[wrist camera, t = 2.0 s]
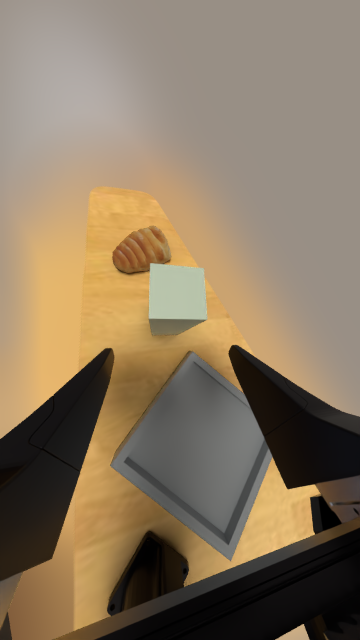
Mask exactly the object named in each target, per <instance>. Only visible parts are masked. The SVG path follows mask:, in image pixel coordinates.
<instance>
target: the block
mask: <svg viewBox="0 0 360 640" xmlns="http://www.w3.org/2000/svg"><path fill="white" fill-rule="evenodd" d="M205 320H207V307H206V293H205V278H204V268H195V267H184V266H174V265H164V264H154V263H150V292H149V322H150V327H151V332H152V335H178V334H180V333H182V332H184V331H186V330H188V329H190V328H192V327H194V326H196V325H198V324H200V323H202V322H204V321H205Z"/></svg>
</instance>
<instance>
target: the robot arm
mask: <svg viewBox="0 0 360 640" xmlns="http://www.w3.org/2000/svg"><path fill="white" fill-rule="evenodd" d="M229 357H230V360H231V363H232V366H233V369H234V372H235V374H236V377H237V379H238V381H239V383H240V385H241V388H242V390H243V392H244V394H245V397H246V399H247V401H248V403H249V405H250V408H251V410H252V412H253V414H254V417H255V419H256V421H257V423H258V425H259V428H260V430H261V432H262V434H263V436H264V439H265V441H266V443H267V446H268V448H269V450H270V452H271V454H272V457H273V459H274V461H275V463H276V466H277V468H278V470H279V472H280V475H281V477H282V479H283V481H284V483H285V485H286V487H287V489H292V488H297V487H302V486H308V485H313V484H315V485H316V487H317V489H318V490H319V492H320V493H321V494H319V495H316V496H313V497H310V501H311V511H312V521H313V530H314V533H315V535H313V536H311V537H308V538H306V539H303V540H301V541H298V542H296V543H293V544H291V545H288V546H286V547H283V548H281V549H278V550H276V551H273V552H271V553H268V554H266V555H263V556H261V557H258V558H256V559H253V560H251V561H248V562H246V563H243V564H241V565H238V566H236V567H233V568H231V569H228V570H226V571H223V572H221V573H218V574H216V575H213V576H211V577H208V578H206V579H203V580H201V581H198V582H196V583H193V584H191V585H188V586H186V587H184V584H183V583H184V581H185V579H186V577H187V575H188V572H189V567H188V562H187V560H185V559H184V558H183V557H182V556H180V555H179V554H178V553H177V552H175V551H174V550H173V549H171V548H170V547H169V546H168V545H166V544H165V543H164V542H163V541H161V540H160V539H159V538H157V537H156V536H155V535H154V534H152V533H151V532H148V533H147V534H146V535H145V537H144V538H143V540H142V542H141V544H140V546H139V547H138V549H137V551H136V553H135V554H134V556H133V558H132V560H131V561H130V563H129V565H128V567H127V568H126V570H125V572H124V574H123V575H122V577H121V579H120V581H119V582H118V584H117V586H116V588H115V590H114V591H113V593H112V595H111V597H110V599H109V603H108V608H107V611H108V614H109V615H111V617H108V618H106V619H103V620H101V621H98V622H96V623H93V624H91V625H88V626H86V627H83V628H81V629H78V630H76V631H73V632H71V633H69V634H66V635H63V636H61V637H58V638H56V639H53V640H275V639H277V638H279V637H280V636H282V635H284V634H286V633H288V632H290V631H291V630H293V629H295V628H297V627H298V626H300V625H302V624H304V626H305V629H306V631H307V634H308V637H309V639H310V640H360V417H359V416H355V415H351V414H348V413H345V412H342V411H340V410H338V409H336V408H334V407H332V406H330V405H328V404H327V403H325V402H323V401H322V400H320V399H318V398H317V397H315V396H313V395H312V394H310V393H309V392H307V391H305V390H304V389H302V388H301V387H299V386H297V385H296V384H294V383H293V382H291V381H290V380H288V379H287V378H285V377H284V376H282V375H281V374H279V373H278V372H276V371H275V370H274V369H272V368H271V367H269V366H268V365H266V364H265V363H263V362H262V361H260V360H259V359H257V358H256V357H254V356H253V355H251V354H250V353H248V352H247V351H245V350H244V349H242V348H241V347H239V346H238V345H232V346H231V348H230V350H229ZM113 363H114V353H113V349H112V348H106V349H104V350H103V351H102V352H101V353H100V354H98V355H97V356H96V357H95V358H94V359H93V360H92V361H91V362H90V363H88V364H87V365H86V366H85V367H84V368H83V369H82V370H81V371H79V372H78V373H77V374H76V375H75V376H74V377H73V378H72V379H71V380H69V381H68V382H67V383H66V384H65V385H64V386H63V387H62V388H61V389H59V390H58V391H57V392H56V393H55V394H54V396H52V397H50V398H49V400H47V401H46V402H45V403H44V404H43V405H41V406H40V407H39V408H38V409H37V410H36V411H34V412H33V413H32V414H31V415H30V416H29V417H28V418H26V419H25V420H24V421H22V422H21V423H20V424H19V425H18V426H16V427H15V428H14V429H12V430H11V431H10V432H9V433H7V434H6V435H5V436H4V437H3V438H1V439H0V640H12V637H11V630H10V623H9V617H8V609H9V607H10V604H11V602H12V599H13V597H14V594H15V592H16V589H17V587H18V584H19V581H20V579H21V576H22V574H23V571H25V570H28V569H30V568H32V567H34V566H37V565H39V564H41V563H44V562H46V561H48V560H50V559H52V557H53V554H54V551H55V548H56V545H57V542H58V539H59V536H60V533H61V530H62V527H63V524H64V521H65V517H66V514H67V511H68V508H69V505H70V502H71V499H72V496H73V493H74V490H75V487H76V484H77V481H78V478H79V475H80V471H81V468H82V465H83V462H84V459H85V456H86V453H87V450H88V447H89V444H90V441H91V438H92V434H93V431H94V428H95V425H96V422H97V419H98V416H99V413H100V410H101V407H102V404H103V401H104V398H105V395H106V392H107V389H108V385H109V382H110V378H111V373H112V368H113ZM147 540H149V541H147Z"/></svg>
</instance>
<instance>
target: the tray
mask: <svg viewBox="0 0 360 640" xmlns="http://www.w3.org/2000/svg"><path fill="white" fill-rule="evenodd" d="M271 459H272V454H271V452H270V450H269V448H268V446H267V443H266V441H265V439H264V436H263V434H262V432H261V430H260V428H259V425H258V423H257V421H256V419H255V417H254V414H253V412H252V410H251V408H250V405H249V403H248V401H247V399H246V397H245V395H244V394H243V393H242V392H241V391H240V390H238V389H237V388H236V387H235V386H234V385H232V384H231V383H230V382H229V381H228V380H226V379H225V378H224V377H223V376H222V375H220V374H219V373H218V372H217V371H216V370H214V369H213V368H212V367H211V366H210V365H208V364H207V363H206V362H205V361H204V360H202V359H201V358H200V357H199V356H198V355H196V354H195V353H194V352H193V351H189V352H188V353H187V355H186V356H185V357H184V359H183V360H182V362H181V363H180V364H179V366H178V367H177V368H176V370H175V371H174V372H173V374H172V375H171V377H170V378H169V379H168V381H167V382H166V383H165V385H164V386H163V387H162V389H161V390H160V392H159V393H158V394H157V396H156V397H155V398H154V400H153V401H152V403H151V404H150V405H149V407H148V408H147V409H146V411H145V412H144V413H143V415H142V416H141V418H140V419H139V420H138V422H137V423H136V424H135V426H134V427H133V429H132V430H131V431H130V433H129V434H128V435H127V437H126V438H125V439H124V441H123V442H122V444H121V445H120V446H119V448H118V449H117V450H116V452H115V454H114V457H113V460H112V463H111V465H110V466H111V467H112V468H114V469H115V470H116V471H117V472H119V473H120V474H121V475H123V476H124V477H125V478H126V479H128V480H129V481H130V482H131V483H133V484H134V485H135V486H136V487H138V488H139V489H140V490H141V491H143V492H144V493H145V494H147V495H148V496H149V497H150V498H152V499H153V500H154V501H155V502H157V503H158V504H159V505H160V506H162V507H163V508H164V509H165V510H167V511H168V512H169V513H171V514H172V515H173V516H174V517H176V518H177V519H178V520H179V521H181V522H182V523H183V524H184V525H186V526H187V527H188V528H190V529H191V530H192V531H193V532H195V533H196V534H197V535H198V536H200V537H201V538H202V539H203V540H205V541H206V542H207V543H208V544H210V545H211V546H212V547H214V548H215V549H216V550H217V551H219V552H220V553H221V554H222V555H224V556H225V557H226V558H227V559H229V560H230V561H231V560H232V557H233V554H234V552H235V549H236V547H237V544H238V542H239V539H240V537H241V534H242V532H243V529H244V527H245V524H246V522H247V519H248V517H249V514H250V512H251V509H252V507H253V504H254V501H255V499H256V496H257V494H258V491H259V489H260V486H261V484H262V481H263V479H264V476H265V474H266V471H267V469H268V466H269V464H270V461H271Z"/></svg>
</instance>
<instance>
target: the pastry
mask: <svg viewBox="0 0 360 640" xmlns="http://www.w3.org/2000/svg"><path fill="white" fill-rule="evenodd" d="M170 259H171V252H170V248H169V246H168V242H167V239H166V238H165V236H164V234H163V233H162V231H161V230H160V229H158V228H157V227H156V226H149V227H148V228H144V229H140V230H138V231H134V232H132V233H131V234H130V235H129V236H127V237H126V238H125V239H124V241H122V242H121V243H120V244H119V246H117V247H116V249H115V250H114V251H113V263H114V265H115V266H116V268H118V269H119V270H121V271H123V272H126V273H131V272H138V271H148V270H150V263H154V264H164V263H165V262H167V261H168V260H170Z"/></svg>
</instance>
